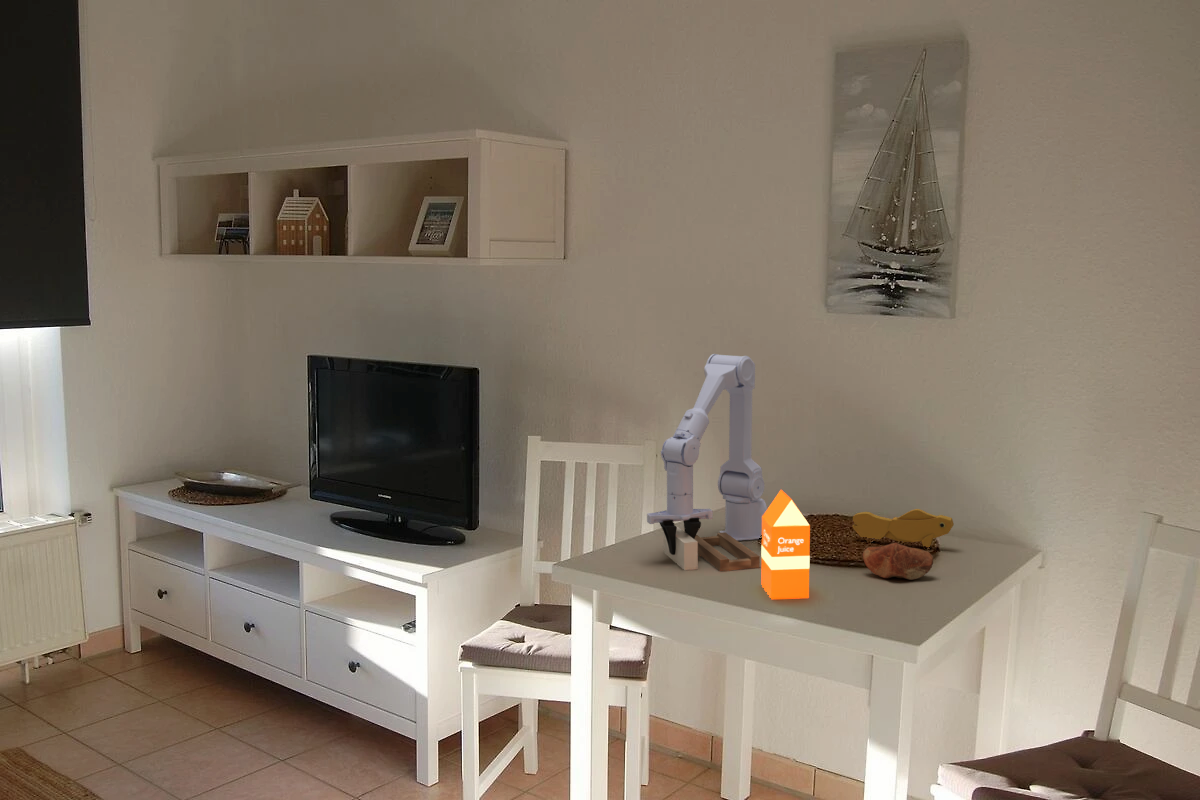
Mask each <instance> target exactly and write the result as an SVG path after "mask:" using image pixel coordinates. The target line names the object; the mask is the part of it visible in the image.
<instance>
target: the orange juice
mask: <svg viewBox="0 0 1200 800" xmlns="http://www.w3.org/2000/svg"><path fill="white" fill-rule="evenodd" d="M810 538H811V525H810V524H809V522H808V521H807V519H806V518H805V516H804V515H803V514H802V512H801V511H800V509H799V508H798V507H797V504H796V503H795V502H794V501H793V499H792V498H791V497H790V496H789V495H788V494H787V493H786V492H784V491H783V490H782V489H780V490H779V491H778V493H777V495H776V496H775V497H774V499H773V500H772V502H771V503H770V504H769V506H767V510H766V512H765V513H764V515H763V516H762V539H761V547H760V548H761V551H760V553H761V556H760V558H761V563H760V565H761V567H760V568H761V571H760V572H761V577H760V578H761V579H760V581H761V582H760V583H761V585H762V586H761V587H762V589H763V588H764V589H763V590H764V591H765V593H766V592H767V593H766V594H767V596H768V595H769V596H768V597H769V599H770V598H771V599H770V600H792V599H793V600H794V599H795V600H796V599H798V600H799V599H809V598H810V567H811V566H810V560H811V556H810V549H811V548H810V545H811V544H810V542H811V539H810Z"/></svg>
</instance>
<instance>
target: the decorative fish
mask: <svg viewBox="0 0 1200 800" xmlns="http://www.w3.org/2000/svg"><path fill="white" fill-rule="evenodd" d="M852 521H853V523H854V524H852V529H853V530H854V531H855V532H856V533H857V535H858V536H859V537H860V538H861V537H867V538H875V539H879V540H881V539H882V538H887V539H890V540H893V541H897V542H900V541H903V542H902V543H904V542H911V543H910V544H912V543H917V542H918V543H919V542H921V545H922V547H924V546H926V547H930V545H931V546H932V544H933V543H934V542H933V541H934V539H936V538H939V537H943V536H945V535H948V534H949V533H950V531H951V530H952V528H953V527H954V520H953V518H952V517H950V516H946V515H944V514H939V515H935V514H932V513H929V512H926V511H925V510H923V509H920V508H915V509H911V510H909V511H907V512H906V513H904V514H902V515H900V516H898V517H897V516H894V517H893V518H888V517H884V516H881V515H880V516H879V515H877V514H874V513H873V512H869V511H862V512H857V513H855V514H853V516H852ZM930 548H931V547H930Z"/></svg>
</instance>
